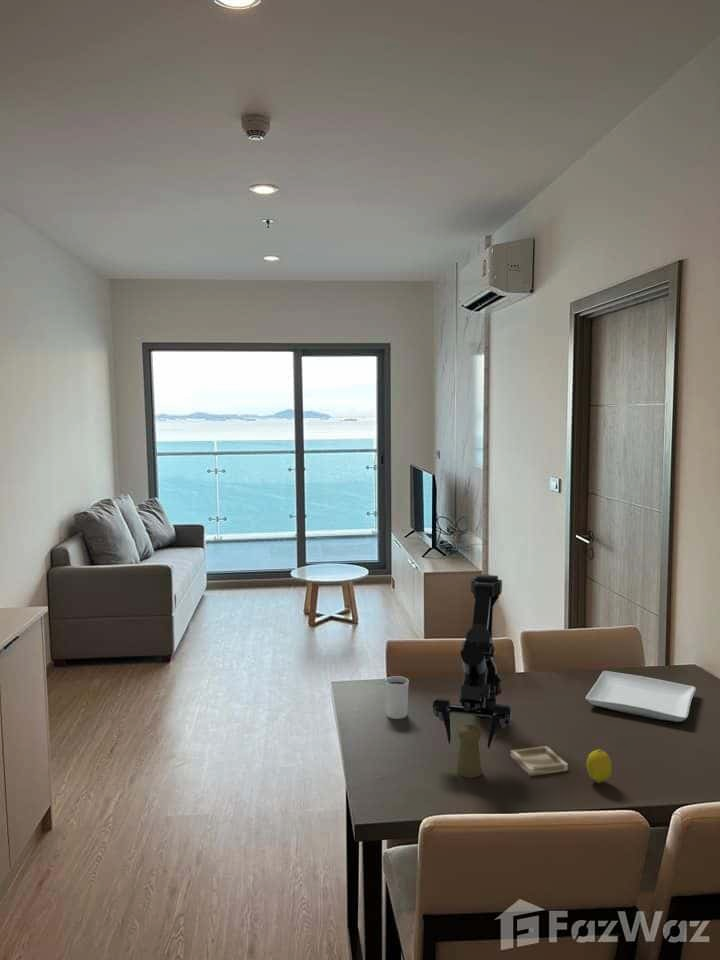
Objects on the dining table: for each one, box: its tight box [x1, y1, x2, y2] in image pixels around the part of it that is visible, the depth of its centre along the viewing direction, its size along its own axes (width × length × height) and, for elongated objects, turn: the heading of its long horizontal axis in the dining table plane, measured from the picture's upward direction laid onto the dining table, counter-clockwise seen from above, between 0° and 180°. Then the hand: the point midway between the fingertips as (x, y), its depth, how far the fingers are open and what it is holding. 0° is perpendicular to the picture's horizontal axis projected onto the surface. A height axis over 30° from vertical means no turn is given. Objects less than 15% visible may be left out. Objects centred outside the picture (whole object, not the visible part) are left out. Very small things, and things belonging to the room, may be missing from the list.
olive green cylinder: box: [456, 724, 483, 779], centre depth 172 cm, size 6×6×11 cm
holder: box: [510, 745, 569, 777], centre depth 176 cm, size 10×10×2 cm
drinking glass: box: [384, 675, 410, 720], centre depth 205 cm, size 7×7×10 cm
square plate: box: [585, 670, 697, 723], centre depth 214 cm, size 27×27×4 cm
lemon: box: [585, 748, 613, 784], centre depth 167 cm, size 6×6×8 cm
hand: (468, 746), depth 171 cm, fingers open, 9 cm apart
